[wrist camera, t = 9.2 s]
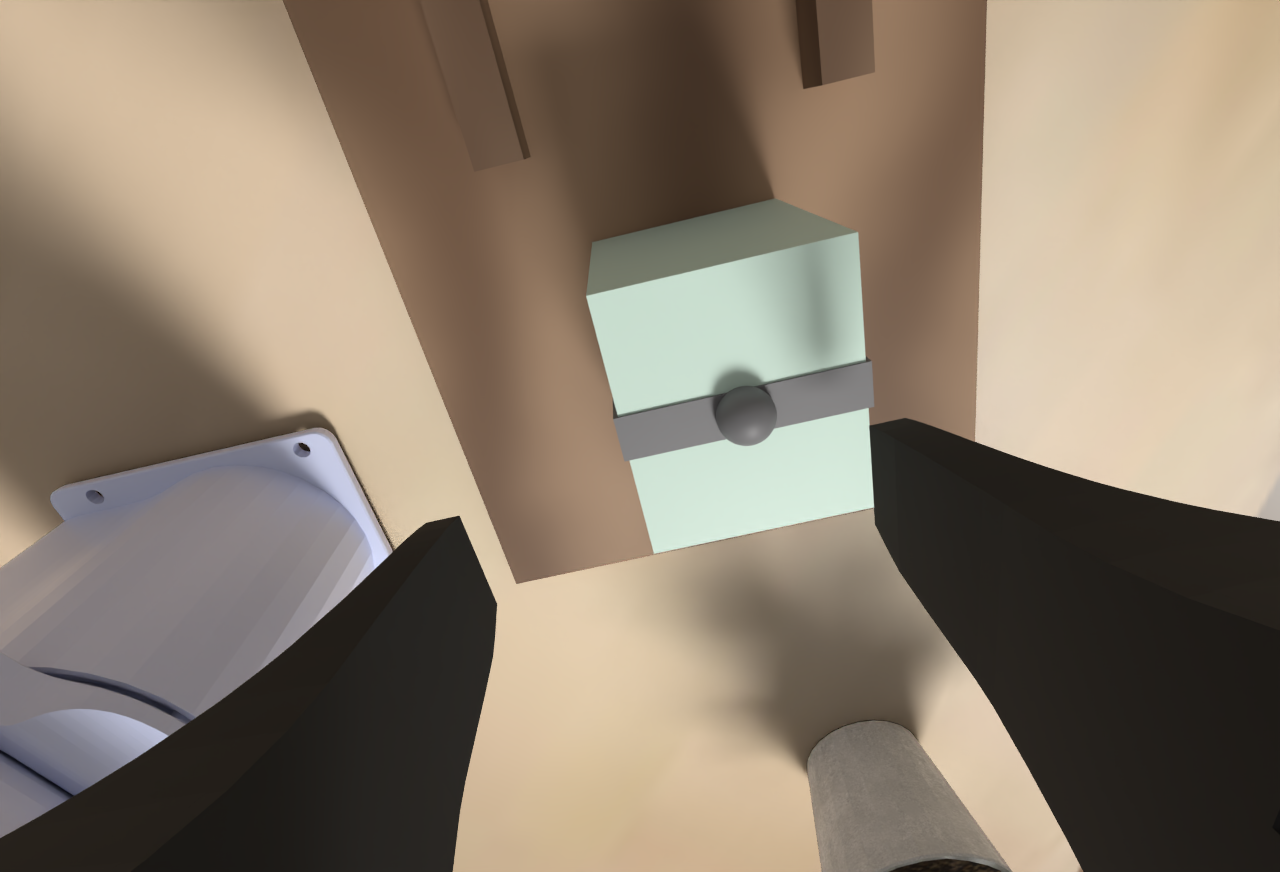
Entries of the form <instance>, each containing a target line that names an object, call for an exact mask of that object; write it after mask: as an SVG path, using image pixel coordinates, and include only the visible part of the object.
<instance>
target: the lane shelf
mask: <svg viewBox="0 0 1280 872" xmlns="http://www.w3.org/2000/svg"><path fill="white" fill-rule="evenodd" d="M283 2H284V4H285V7H286V9H287V12H288V14H289V17H290V19H291V22H292V24H293V27H294V29H295V32H296V34H297V37H298V39H299V42H300V44H301V47H302V49H303V52H304V54H305V57H306V59H307V62H308V64H309V67H310V69H311V72H312V74H313V77H314V79H315V82H316V84H317V87H318V89H319V92H320V94H321V97H322V99H323V102H324V104H325V107H326V109H327V112H328V114H329V117H330V119H331V122H332V124H333V127H334V129H335V132H336V134H337V137H338V139H339V142H340V144H341V147H342V149H343V152H344V154H345V157H346V159H347V162H348V164H349V167H350V169H351V172H352V174H353V177H354V179H355V182H356V184H357V187H358V189H359V192H360V194H361V197H362V199H363V202H364V204H365V207H366V209H367V212H368V214H369V217H370V219H371V222H372V224H373V227H374V229H375V232H376V234H377V237H378V239H379V242H380V244H381V247H382V249H383V252H384V254H385V257H386V259H387V262H388V264H389V267H390V269H391V272H392V274H393V277H394V279H395V282H396V284H397V287H398V289H399V292H400V294H401V297H402V299H403V302H404V304H405V307H406V309H407V312H408V314H409V317H410V319H411V322H412V324H413V327H414V329H415V332H416V334H417V337H418V339H419V342H420V344H421V347H422V349H423V352H424V354H425V357H426V359H427V362H428V364H429V367H430V369H431V372H432V374H433V377H434V379H435V382H436V384H437V387H438V389H439V392H440V394H441V397H442V399H443V402H444V404H445V407H446V409H447V412H448V414H449V417H450V419H451V422H452V424H453V427H454V429H455V432H456V434H457V437H458V439H459V441H460V444H461V446H462V449H463V451H464V454H465V456H466V459H467V461H468V464H469V466H470V469H471V471H472V474H473V476H474V479H475V481H476V484H477V486H478V489H479V491H480V494H481V496H482V499H483V501H484V504H485V506H486V509H487V511H488V514H489V516H490V519H491V521H492V524H493V526H494V529H495V531H496V534H497V536H498V539H499V541H500V544H501V546H502V549H503V551H504V554H505V556H506V559H507V561H508V564H509V566H510V569H511V571H512V574H513V576H514V579H515V581H516V584H518V583H523V582H527V581H532V580H537V579H541V578H546V577H551V576H556V575H560V574H565V573H570V572H575V571H579V570H584V569H589V568H594V567H598V566H603V565H608V564H612V563H617V562H622V561H627V560H631V559H636V558H641V557H646V556H650V555H655V554H654V552H653V548H652V544H651V541H650V537H649V533H648V529H647V525H646V522H645V518H644V514H643V510H642V506H641V503H640V499H639V495H638V491H637V487H636V484H635V480H634V476H633V472H632V468H631V465H630V461H625V462H624V458H623V454H622V450H621V447H620V443H619V439H618V435H617V432H616V428H615V424H614V420H613V396H612V392H611V389H610V385H609V381H608V377H607V373H606V370H605V366H604V362H603V358H602V354H601V351H600V347H599V343H598V339H597V335H596V332H595V328H594V324H593V320H592V316H591V313H590V309H589V305H588V301H587V297H586V293H587V284H588V275H589V267H590V258H591V249H592V242H595V241H599V240H604V239H608V238H612V237H616V236H620V235H624V234H629V233H633V232H637V231H641V230H645V229H650V228H654V227H658V226H662V225H666V224H670V223H675V222H679V221H683V220H687V219H691V218H695V217H700V216H704V215H708V214H712V213H716V212H720V211H725V210H729V209H733V208H737V207H741V206H745V205H750V204H754V203H758V202H762V201H766V200H771V199H775V198H776V199H778V200H781V201H783V202H786V203H788V204H791V205H793V206H795V207H798V208H800V209H803V210H805V211H808V212H810V213H813V214H815V215H818V216H820V217H822V218H825V219H827V220H830V221H832V222H835V223H837V224H840V225H842V226H845V227H847V228H849V229H852V230H854V231H857V232H858V237H859V254H860V271H861V288H862V305H863V322H864V339H865V356H867V357H868V358H869V359H870V360H871V361H872V373H873V391H874V407H871V408H869V424H870V425H874V424H879V423H884V422H888V421H893V420H897V419H902V418H908V419H912V420H916V421H919V422H922V423H925V424H928V425H931V426H934V427H936V428H939V429H942V430H945V431H947V432H950V433H953V434H955V435H958V436H961V437H963V438H966V439H969V440H971V441H974V442H975V418H976V381H977V345H978V308H979V271H980V234H981V197H982V160H983V123H984V86H985V49H986V12H987V0H283ZM869 509H873V508H869ZM864 510H868V509H864ZM860 511H863V510H860ZM855 512H859V511H855ZM850 513H854V512H850ZM845 514H849V513H845ZM841 515H844V514H841ZM836 516H840V515H836ZM831 517H835V516H831ZM826 518H830V517H826ZM822 519H825V518H822ZM817 520H821V519H817ZM812 521H816V520H812ZM807 522H811V521H807ZM803 523H806V522H803ZM798 524H802V523H798ZM793 525H797V524H793ZM789 526H792V525H789ZM784 527H788V526H784ZM779 528H783V527H779ZM774 529H778V528H774ZM770 530H773V529H770ZM765 531H769V530H765ZM760 532H764V531H760ZM755 533H759V532H755ZM751 534H754V533H751ZM746 535H750V534H746ZM741 536H745V535H741ZM736 537H740V536H736ZM732 538H735V537H732ZM727 539H731V538H727ZM722 540H726V539H722ZM717 541H721V540H717ZM717 541H713V542H717ZM708 543H712V542H708ZM703 544H707V543H703ZM699 545H702V544H699ZM694 546H698V545H694ZM689 547H693V546H689ZM684 548H688V547H684ZM680 549H683V548H680ZM675 550H679V549H675ZM670 551H674V550H670ZM665 552H669V551H665ZM665 552H661V553H665ZM656 554H660V553H656Z"/></svg>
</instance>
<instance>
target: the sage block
mask: <svg viewBox="0 0 1280 872" xmlns="http://www.w3.org/2000/svg"><path fill="white" fill-rule="evenodd" d="M586 297H587V301H588V305H589V309H590V313H591V316H592V320H593V324H594V328H595V332H596V335H597V339H598V343H599V347H600V351H601V354H602V358H603V362H604V366H605V370H606V373H607V377H608V381H609V385H610V389H611V392H612V396H613V420H614V424H615V428H616V432H617V435H618V439H619V443H620V447H621V450H622V454H623V458H624V462H625V461H630V465H631V468H632V472H633V476H634V480H635V484H636V487H637V491H638V495H639V499H640V503H641V506H642V510H643V514H644V518H645V522H646V525H647V529H648V533H649V537H650V541H651V544H652V548H653V552H654V554H656V553H661V552H665V551H670V550H675V549H680V548H684V547H689V546H694V545H699V544H703V543H708V542H713V541H717V540H722V539H727V538H732V537H736V536H741V535H746V534H751V533H755V532H760V531H765V530H770V529H774V528H779V527H784V526H789V525H793V524H798V523H803V522H807V521H812V520H817V519H822V518H826V517H831V516H836V515H841V514H845V513H850V512H855V511H860V510H864V509H869V508H874V498H873V481H872V464H871V448H870V431H869V426H870V424H869V408H871V407H874V391H873V373H872V361H871V360H870V359H869V358H868V357H867V356H865V339H864V322H863V305H862V288H861V271H860V254H859V237H858V232H857V231H854V230H852V229H849V228H847V227H845V226H842V225H840V224H837V223H835V222H832V221H830V220H827V219H825V218H822V217H820V216H818V215H815V214H813V213H810V212H808V211H805V210H803V209H800V208H798V207H795V206H793V205H791V204H788V203H786V202H783V201H781V200H778V199H776V198H775V199H771V200H766V201H762V202H758V203H754V204H750V205H745V206H741V207H737V208H733V209H729V210H725V211H720V212H716V213H712V214H708V215H704V216H700V217H695V218H691V219H687V220H683V221H679V222H675V223H670V224H666V225H662V226H658V227H654V228H650V229H645V230H641V231H637V232H633V233H629V234H624V235H620V236H616V237H612V238H608V239H604V240H599V241H595V242H592V249H591V258H590V267H589V275H588V284H587V293H586Z"/></svg>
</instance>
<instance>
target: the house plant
mask: <svg viewBox="0 0 1280 872" xmlns="http://www.w3.org/2000/svg"><path fill="white" fill-rule="evenodd" d="M807 772H808V779H809V786H810V793H811V800H812V807H813V814H814V821H815V828H816V835H817V842H818V849H819V856H820V863H821V870H822V872H1012V870H1011V869H1010V868H1009V866H1008V865H1007V864H1006V862H1005V861H1004V859H1003V858H1002V857H1001V855H1000V854H999V853H998V851H997V850H996V848H995V847H994V846H993V844H992V843H991V842H990V840H989V839H988V837H987V836H986V835H985V833H984V832H983V830H982V829H981V828H980V826H979V825H978V824H977V822H976V821H975V819H974V818H973V817H972V815H971V814H970V813H969V811H968V810H967V808H966V807H965V806H964V804H963V803H962V802H961V800H960V799H959V797H958V796H957V795H956V793H955V792H954V791H953V789H952V788H951V786H950V785H949V784H948V782H947V781H946V779H945V778H944V777H943V775H942V774H941V773H940V771H939V770H938V768H937V767H936V766H935V764H934V763H933V762H932V760H931V759H930V757H929V756H928V755H927V753H926V752H925V751H924V749H923V748H922V746H921V745H920V744H919V742H918V741H917V740H916V738H915V737H914V736H913V734H912V733H911V732H910V731H909V730H907V729H906V728H904V727H903V726H901V725H898V724H895V723H891V722H888V721H875V720H873V721H864V722H857V723H854V724H850V725H847V726H844V727H842V728H840V729H837V730H835V731H833V732H831V733H830V734H828V735H827V736H826V737H824V738H823V739H822V740H821V741H819V742H818V744H817V745H816V746H815V747H814V749H813V750H812V751H811V754H810V756H809V758H808V762H807Z"/></svg>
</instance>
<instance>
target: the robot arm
mask: <svg viewBox="0 0 1280 872" xmlns="http://www.w3.org/2000/svg"><path fill="white" fill-rule="evenodd" d="M869 431H870V448H871V464H872V481H873V498H874V514H875V525H876V527H877V529H878V531H879V533H880V535H881V537H882V539H883V541H884V543H885V545H886V547H887V549H888V551H889V553H890V555H891V557H892V558H893V560H894V562H895V564H896V566H897V568H898V570H899V572H900V573H901V574H902V576H903V577H904V579H905V580H906V582H907V583H908V585H909V586H910V588H911V589H912V590H913V592H914V593H915V595H916V596H917V598H918V599H919V600H920V602H921V603H922V605H923V606H924V608H925V609H926V610H927V612H928V613H929V615H930V616H931V617H932V619H933V620H934V622H935V623H936V625H937V626H938V627H939V629H940V630H941V632H942V633H943V634H944V636H945V637H946V639H947V640H948V641H949V643H950V644H951V646H952V647H953V648H954V650H955V651H956V653H957V654H958V655H959V657H960V658H961V660H962V661H963V662H964V664H965V665H966V667H967V668H968V669H969V671H970V672H971V674H972V675H973V677H974V678H975V679H976V681H977V682H978V684H979V685H980V687H981V688H982V690H983V692H984V693H985V695H986V696H987V698H988V699H989V701H990V702H991V704H992V705H993V707H994V709H995V710H996V712H997V714H998V716H999V717H1000V719H1001V721H1002V723H1003V724H1004V726H1005V728H1006V730H1007V731H1008V733H1009V735H1010V737H1011V739H1012V740H1013V742H1014V744H1015V746H1016V747H1017V749H1018V751H1019V753H1020V754H1021V756H1022V758H1023V760H1024V761H1025V763H1026V765H1027V767H1028V768H1029V770H1030V772H1031V774H1032V776H1033V778H1034V780H1035V781H1036V783H1037V785H1038V787H1039V789H1040V791H1041V792H1042V794H1043V796H1044V798H1045V800H1046V802H1047V803H1048V805H1049V807H1050V809H1051V811H1052V813H1053V815H1054V816H1055V818H1056V820H1057V822H1058V824H1059V826H1060V827H1061V829H1062V831H1063V833H1064V835H1065V837H1066V839H1067V841H1068V842H1069V844H1070V846H1071V848H1072V850H1073V852H1074V854H1075V856H1076V858H1077V860H1078V862H1079V864H1080V866H1081V868H1082V870H1083V872H1280V521H1274V520H1268V519H1262V518H1257V517H1251V516H1246V515H1240V514H1234V513H1229V512H1223V511H1217V510H1212V509H1207V508H1202V507H1197V506H1192V505H1187V504H1183V503H1178V502H1174V501H1169V500H1165V499H1161V498H1157V497H1153V496H1149V495H1144V494H1140V493H1136V492H1132V491H1128V490H1123V489H1119V488H1116V487H1112V486H1108V485H1105V484H1101V483H1097V482H1094V481H1090V480H1087V479H1084V478H1080V477H1077V476H1074V475H1071V474H1067V473H1064V472H1061V471H1058V470H1054V469H1051V468H1048V467H1045V466H1042V465H1039V464H1036V463H1033V462H1030V461H1027V460H1024V459H1021V458H1018V457H1015V456H1013V455H1010V454H1007V453H1004V452H1001V451H999V450H996V449H993V448H990V447H988V446H985V445H982V444H979V443H977V442H974V441H971V440H969V439H966V438H963V437H961V436H958V435H955V434H953V433H950V432H947V431H945V430H942V429H939V428H936V427H934V426H931V425H928V424H925V423H922V422H919V421H916V420H912V419H908V418H902V419H897V420H893V421H888V422H884V423H879V424H874V425H870V426H869ZM299 443H304V444H306V445H307V446H308V447H309V448H310V451H304V450H302V449H301V448H300V446H299ZM96 491H98V492H100V493H101V494H102V495H103V497H102V496H100V495H99V494H98V493H97V492H96ZM50 501H51V503H52V505H53V507H54V508H55V510H56V511H57V512H58V513H59V515H60V516H61V517H62V519H63V520H64V522H63V523H62V524H60V525H59V526H57V527H56V528H55V529H53V530H52V531H50V532H49V533H48V534H46V535H45V536H44V537H42V538H41V539H39V540H38V541H37V542H35V543H34V544H33V545H31V546H30V547H28V548H27V549H26V550H24V551H23V552H22V553H20V554H19V555H17V556H16V557H15V558H13V559H12V560H10V561H9V562H8V563H6V564H5V565H4V566H2V567H1V568H0V872H453V864H454V856H455V847H456V839H457V831H458V823H459V814H460V808H461V802H462V797H463V791H464V786H465V780H466V776H467V772H468V767H469V763H470V758H471V754H472V749H473V745H474V741H475V736H476V732H477V727H478V723H479V718H480V714H481V710H482V705H483V701H484V696H485V692H486V687H487V682H488V678H489V673H490V668H491V663H492V659H493V651H494V640H495V628H496V612H497V603H496V601H495V598H494V596H493V593H492V591H491V589H490V586H489V584H488V582H487V579H486V577H485V575H484V572H483V570H482V568H481V565H480V563H479V561H478V558H477V556H476V554H475V551H474V549H473V547H472V544H471V542H470V540H469V537H468V535H467V532H466V530H465V528H464V525H463V523H462V521H461V518H460V516H456V517H451V518H447V519H442V520H437V521H433V522H428V523H425V524H424V525H423V526H422V527H420V528H419V529H418V530H416V531H415V532H414V533H413V534H412V535H411V536H409V537H408V538H407V539H406V540H405V541H404V542H403V543H402V544H401V545H400V546H399V547H397V548H396V549H395V550H394V551H392V549H391V547H390V545H389V543H388V541H387V539H386V537H385V535H384V533H383V531H382V529H381V527H380V525H379V523H378V521H377V519H376V517H375V515H374V513H373V511H372V509H371V507H370V505H369V503H368V501H367V499H366V497H365V495H364V493H363V491H362V489H361V487H360V485H359V483H358V481H357V479H356V477H355V475H354V473H353V471H352V469H351V467H350V465H349V463H348V461H347V459H346V457H345V455H344V453H343V451H342V449H341V447H340V445H339V443H338V441H337V439H336V437H335V436H334V435H333V433H331V432H330V431H328V430H327V429H323V428H312V429H307V430H303V431H298V432H294V433H290V434H285V435H281V436H277V437H272V438H268V439H264V440H259V441H255V442H250V443H246V444H242V445H237V446H233V447H229V448H224V449H220V450H216V451H211V452H207V453H202V454H198V455H194V456H189V457H185V458H181V459H176V460H172V461H168V462H163V463H159V464H154V465H150V466H146V467H141V468H137V469H133V470H128V471H124V472H120V473H115V474H111V475H107V476H102V477H98V478H93V479H89V480H85V481H80V482H76V483H72V484H67V485H64V486H62V487H60V488H58V489H57V490H55V491H54V492H52V494H51V496H50Z"/></svg>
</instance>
